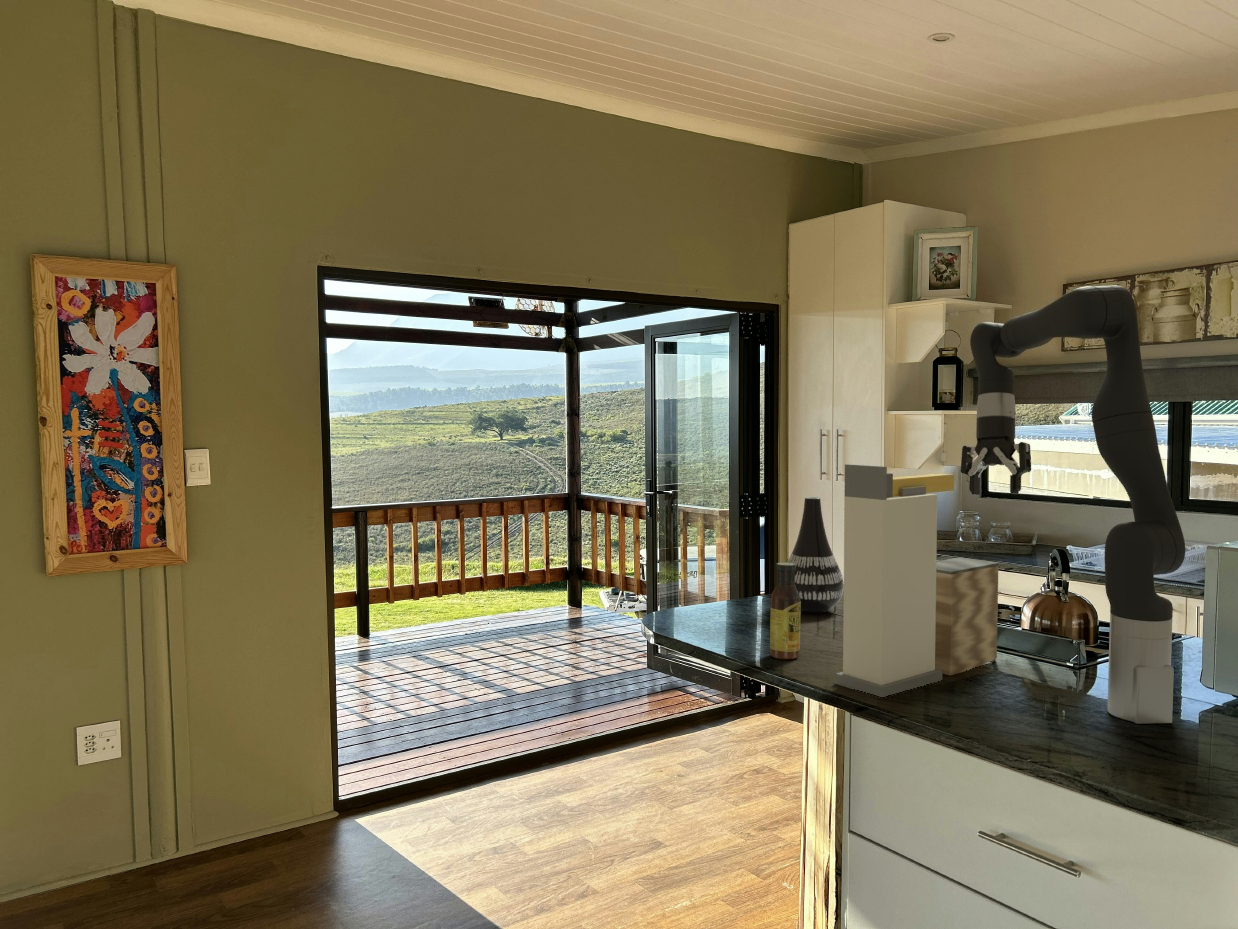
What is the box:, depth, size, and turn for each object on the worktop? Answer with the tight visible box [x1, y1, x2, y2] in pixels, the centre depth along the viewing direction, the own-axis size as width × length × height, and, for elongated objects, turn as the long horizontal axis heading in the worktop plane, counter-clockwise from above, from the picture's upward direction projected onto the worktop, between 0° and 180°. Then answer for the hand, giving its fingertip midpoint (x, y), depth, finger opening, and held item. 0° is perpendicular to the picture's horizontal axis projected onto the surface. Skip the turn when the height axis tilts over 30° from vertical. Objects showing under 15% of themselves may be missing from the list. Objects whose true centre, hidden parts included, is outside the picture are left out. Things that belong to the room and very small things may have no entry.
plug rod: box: [886, 472, 955, 498], centre depth 178 cm, size 24×4×4 cm, turn 126°
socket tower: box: [834, 463, 943, 698], centre depth 176 cm, size 18×11×42 cm, turn 126°
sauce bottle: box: [769, 562, 801, 660], centre depth 195 cm, size 6×6×20 cm
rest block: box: [935, 557, 1000, 676], centre depth 189 cm, size 16×9×21 cm, turn 126°
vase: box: [786, 496, 844, 615], centre depth 237 cm, size 16×16×30 cm
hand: (994, 494), depth 191 cm, fingers open, 8 cm apart
